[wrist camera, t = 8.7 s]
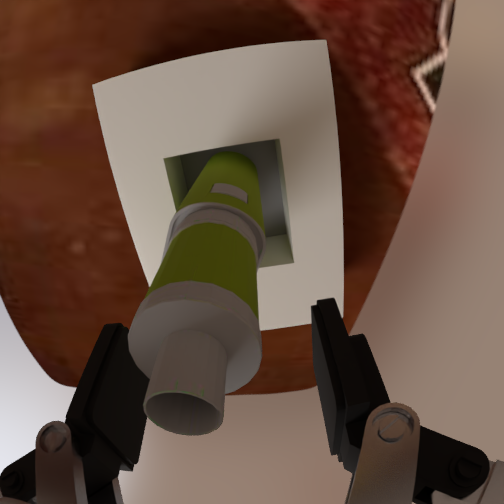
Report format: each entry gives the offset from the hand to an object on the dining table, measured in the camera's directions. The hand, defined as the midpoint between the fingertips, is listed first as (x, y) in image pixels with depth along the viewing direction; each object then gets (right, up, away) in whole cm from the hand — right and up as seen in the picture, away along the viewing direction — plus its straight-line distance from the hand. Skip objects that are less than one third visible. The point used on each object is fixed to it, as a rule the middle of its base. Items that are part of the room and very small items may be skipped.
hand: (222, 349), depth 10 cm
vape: (-1, +8, +14) cm, 16 cm away
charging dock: (0, +8, +15) cm, 17 cm away
